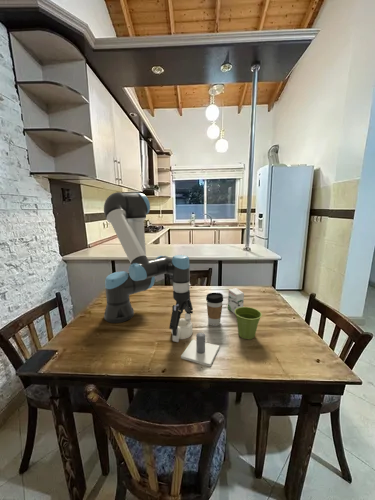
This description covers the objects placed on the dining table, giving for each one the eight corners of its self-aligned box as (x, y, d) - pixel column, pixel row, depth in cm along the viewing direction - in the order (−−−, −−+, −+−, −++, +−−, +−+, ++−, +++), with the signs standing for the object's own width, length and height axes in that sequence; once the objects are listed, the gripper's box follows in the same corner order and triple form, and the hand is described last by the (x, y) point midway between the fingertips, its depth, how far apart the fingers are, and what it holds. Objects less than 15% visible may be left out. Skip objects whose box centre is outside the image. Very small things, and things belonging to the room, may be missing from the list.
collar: (168, 336, 105) (168, 326, 104) (177, 326, 113) (177, 317, 112) (186, 340, 101) (186, 330, 100) (194, 330, 110) (194, 320, 109)
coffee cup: (222, 327, 112) (222, 298, 108) (204, 326, 113) (205, 297, 110) (223, 319, 120) (223, 292, 117) (206, 317, 121) (207, 290, 118)
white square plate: (181, 358, 90) (180, 339, 89) (192, 341, 101) (192, 324, 99) (210, 366, 86) (210, 347, 84) (219, 348, 96) (219, 330, 95)
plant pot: (256, 346, 97) (257, 321, 95) (229, 337, 103) (230, 314, 101) (263, 332, 107) (264, 310, 105) (238, 325, 113) (239, 304, 111)
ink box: (227, 308, 132) (227, 288, 129) (234, 306, 134) (235, 287, 131) (235, 314, 124) (236, 294, 122) (243, 313, 126) (244, 292, 124)
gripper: (176, 302, 90) (177, 350, 94) (199, 282, 113) (199, 322, 117) (159, 299, 93) (161, 346, 97) (185, 280, 115) (185, 319, 120)
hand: (182, 333), depth 107 cm, fingers open, 13 cm apart
